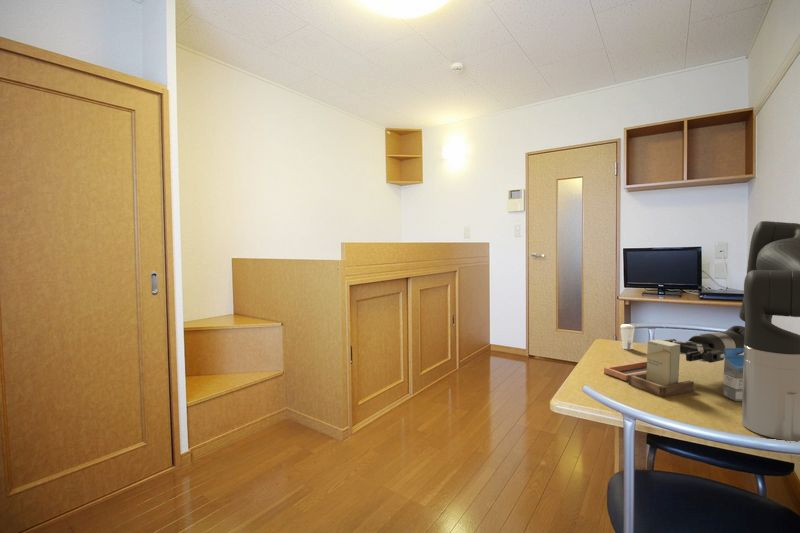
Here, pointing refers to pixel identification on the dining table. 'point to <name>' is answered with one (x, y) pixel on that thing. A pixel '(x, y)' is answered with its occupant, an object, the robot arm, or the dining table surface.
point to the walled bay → (657, 389)
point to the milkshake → (627, 336)
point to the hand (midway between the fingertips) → (671, 353)
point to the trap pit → (626, 370)
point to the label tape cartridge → (733, 374)
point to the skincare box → (662, 362)
